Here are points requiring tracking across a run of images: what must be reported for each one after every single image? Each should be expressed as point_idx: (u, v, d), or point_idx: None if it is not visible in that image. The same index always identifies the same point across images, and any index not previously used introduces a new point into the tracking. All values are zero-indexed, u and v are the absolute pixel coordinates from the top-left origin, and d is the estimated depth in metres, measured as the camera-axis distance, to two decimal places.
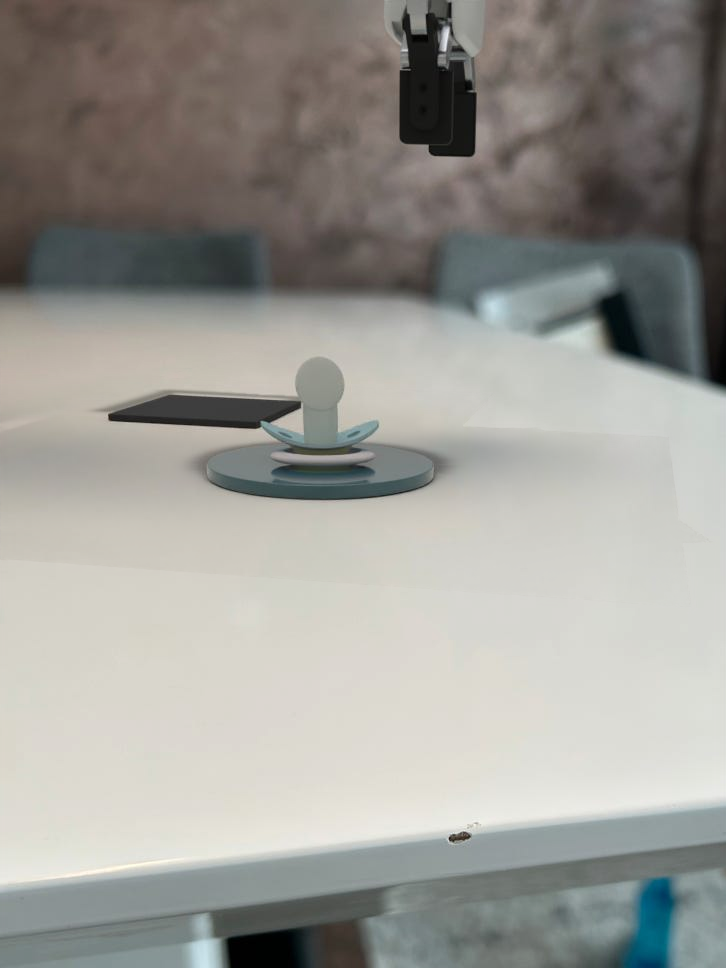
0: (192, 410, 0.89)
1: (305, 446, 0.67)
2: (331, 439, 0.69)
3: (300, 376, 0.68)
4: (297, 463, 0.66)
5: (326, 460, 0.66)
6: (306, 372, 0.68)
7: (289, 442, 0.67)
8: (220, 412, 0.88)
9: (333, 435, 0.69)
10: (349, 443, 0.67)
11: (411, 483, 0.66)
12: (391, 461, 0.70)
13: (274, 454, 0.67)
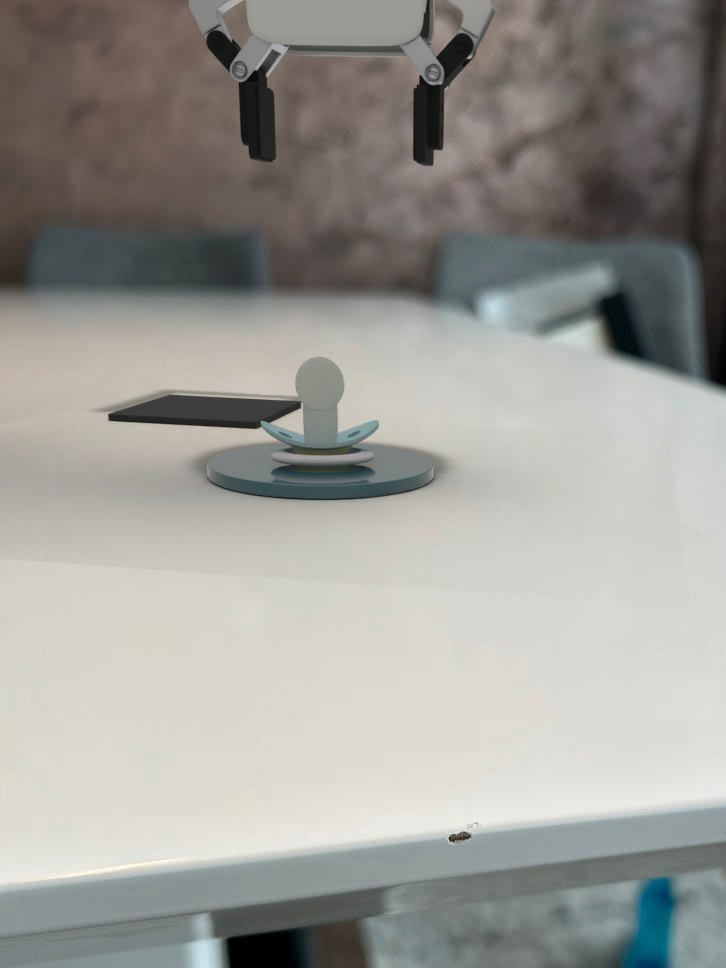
0: (192, 410, 0.89)
1: (305, 446, 0.67)
2: (331, 439, 0.69)
3: (300, 376, 0.68)
4: (297, 463, 0.66)
5: (326, 460, 0.66)
6: (306, 372, 0.68)
7: (289, 442, 0.67)
8: (220, 412, 0.88)
9: (333, 435, 0.69)
10: (349, 443, 0.67)
11: (411, 483, 0.66)
12: (391, 461, 0.70)
13: (274, 454, 0.67)
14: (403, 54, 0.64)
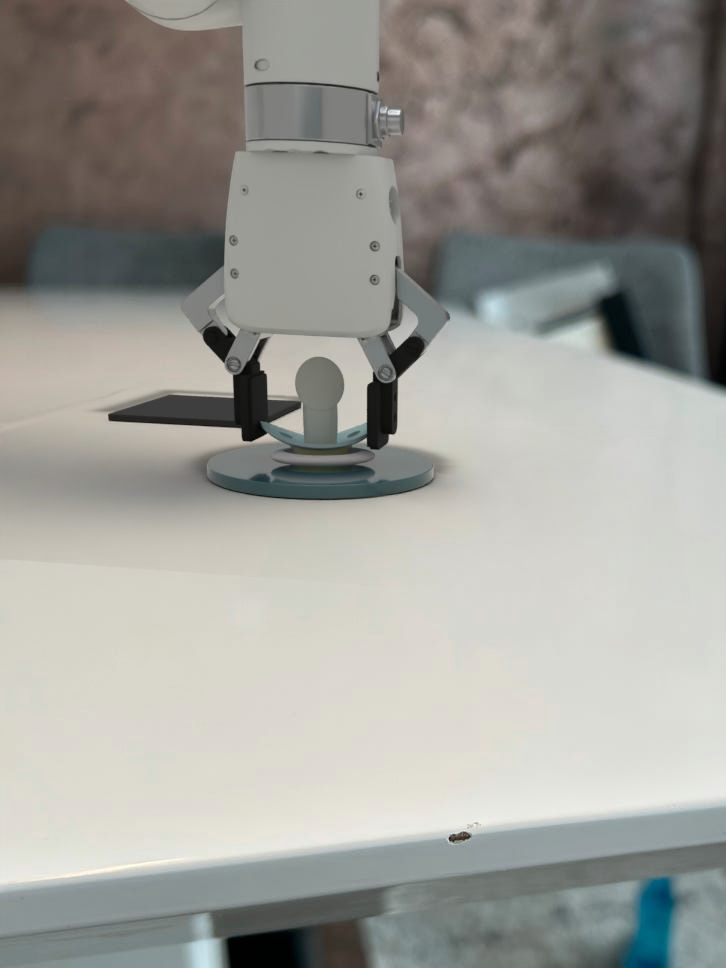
0: (192, 410, 0.89)
1: (305, 446, 0.67)
2: (331, 439, 0.69)
3: (300, 376, 0.68)
4: (297, 463, 0.66)
5: (326, 460, 0.66)
6: (306, 372, 0.68)
7: (289, 442, 0.67)
8: (220, 412, 0.88)
9: (333, 435, 0.69)
10: (349, 443, 0.67)
11: (411, 483, 0.66)
12: (391, 461, 0.70)
13: (274, 454, 0.67)
14: None
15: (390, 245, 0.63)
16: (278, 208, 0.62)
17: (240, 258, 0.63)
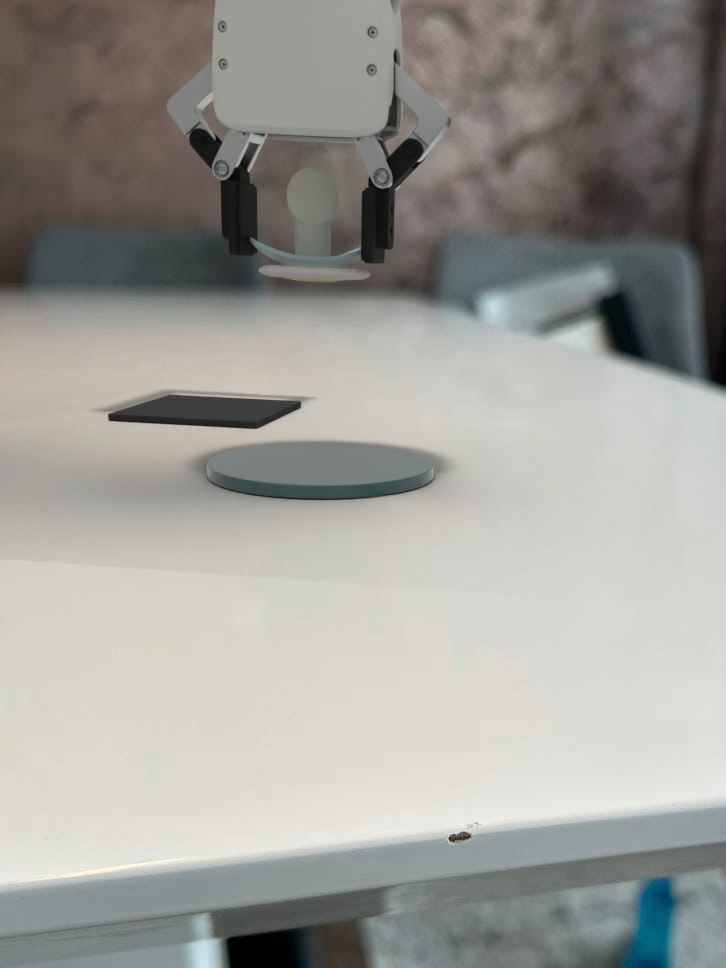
0: (192, 410, 0.89)
1: (296, 258, 0.63)
2: None
3: (292, 187, 0.64)
4: (287, 274, 0.62)
5: (318, 271, 0.62)
6: (298, 183, 0.64)
7: (279, 254, 0.63)
8: (220, 412, 0.88)
9: (326, 254, 0.66)
10: (342, 257, 0.64)
11: (411, 483, 0.66)
12: (391, 461, 0.70)
13: (263, 267, 0.63)
14: None
15: (389, 33, 0.59)
16: None
17: (229, 46, 0.60)
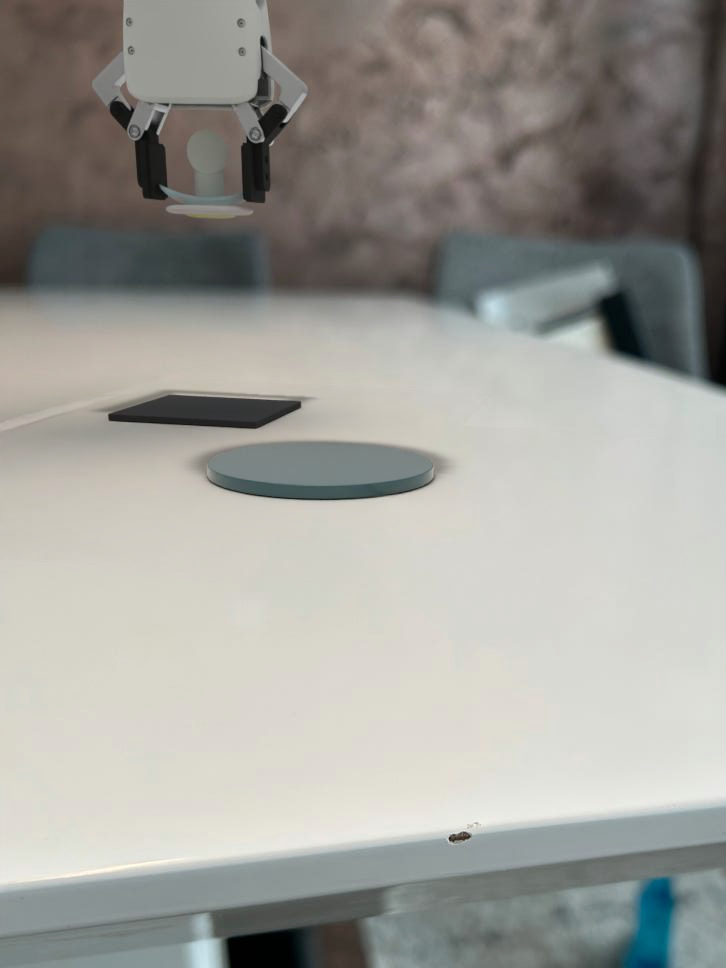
0: (192, 410, 0.89)
1: (193, 199, 0.82)
2: None
3: (190, 145, 0.83)
4: (186, 210, 0.81)
5: (209, 208, 0.81)
6: (195, 141, 0.83)
7: (180, 195, 0.82)
8: (220, 412, 0.88)
9: (220, 197, 0.84)
10: (230, 198, 0.83)
11: (411, 483, 0.66)
12: (391, 461, 0.70)
13: (168, 206, 0.82)
14: None
15: (254, 24, 0.78)
16: None
17: (135, 37, 0.79)
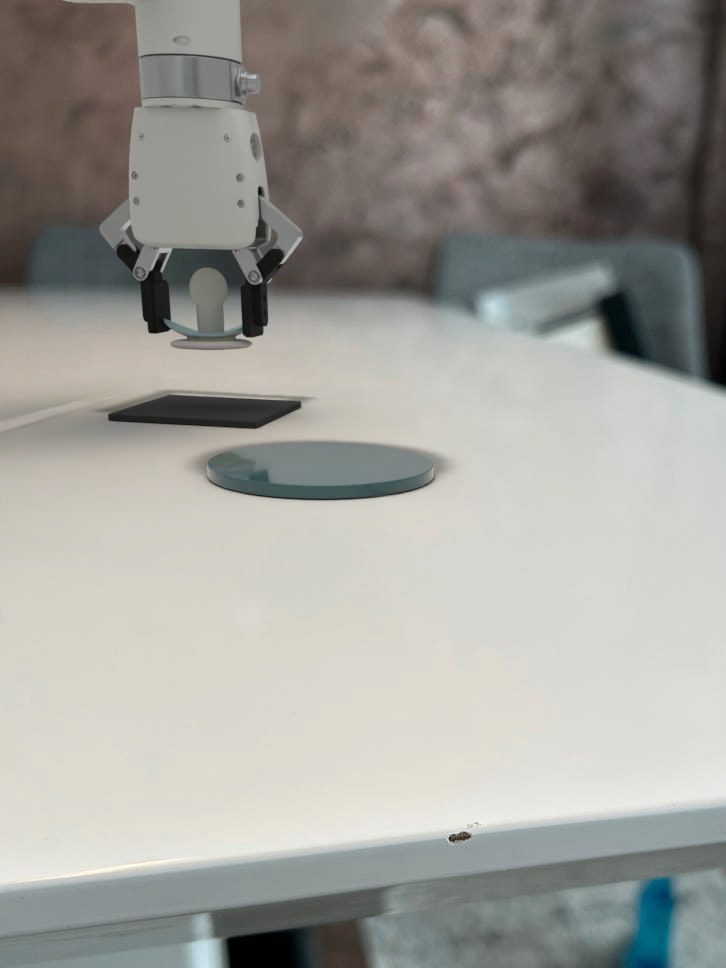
0: (192, 410, 0.89)
1: (196, 335, 0.87)
2: (219, 332, 0.90)
3: (193, 282, 0.88)
4: (189, 347, 0.87)
5: (211, 344, 0.87)
6: (197, 279, 0.88)
7: (183, 332, 0.87)
8: (220, 412, 0.88)
9: (220, 329, 0.90)
10: (230, 333, 0.88)
11: (411, 483, 0.66)
12: (391, 461, 0.70)
13: (172, 342, 0.87)
14: None
15: (252, 177, 0.83)
16: (166, 150, 0.82)
17: (140, 189, 0.84)
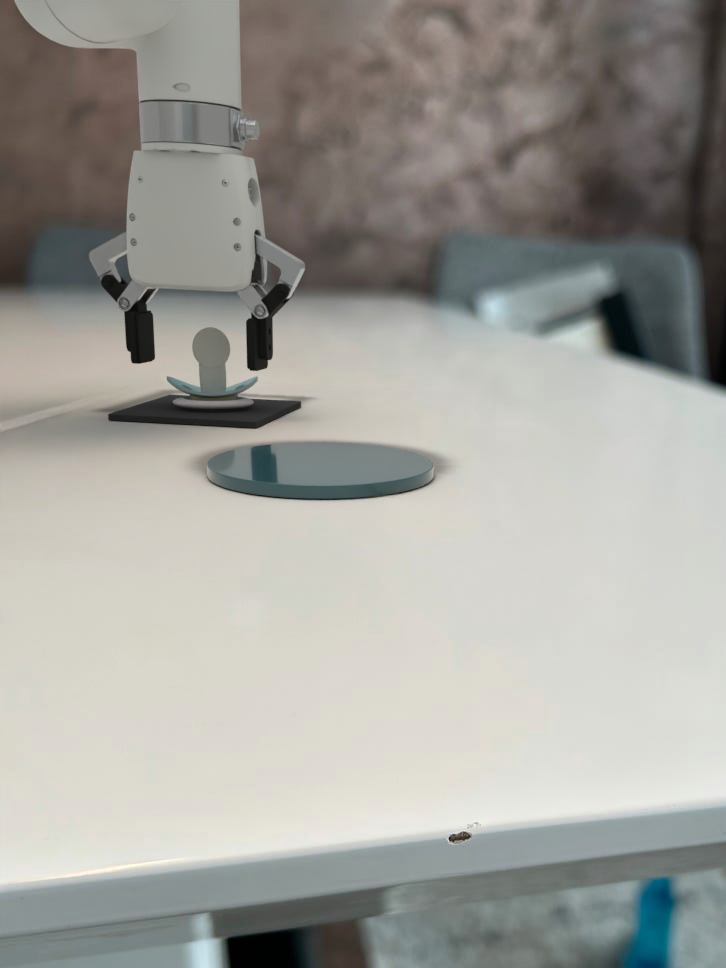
0: (192, 410, 0.89)
1: (198, 394, 0.89)
2: (221, 390, 0.91)
3: (196, 342, 0.90)
4: (191, 406, 0.88)
5: (213, 404, 0.88)
6: (200, 339, 0.90)
7: (186, 391, 0.89)
8: (220, 412, 0.88)
9: (222, 387, 0.91)
10: (232, 392, 0.89)
11: (411, 483, 0.66)
12: (391, 461, 0.70)
13: (175, 400, 0.89)
14: None
15: (249, 221, 0.84)
16: (164, 193, 0.83)
17: (137, 230, 0.84)
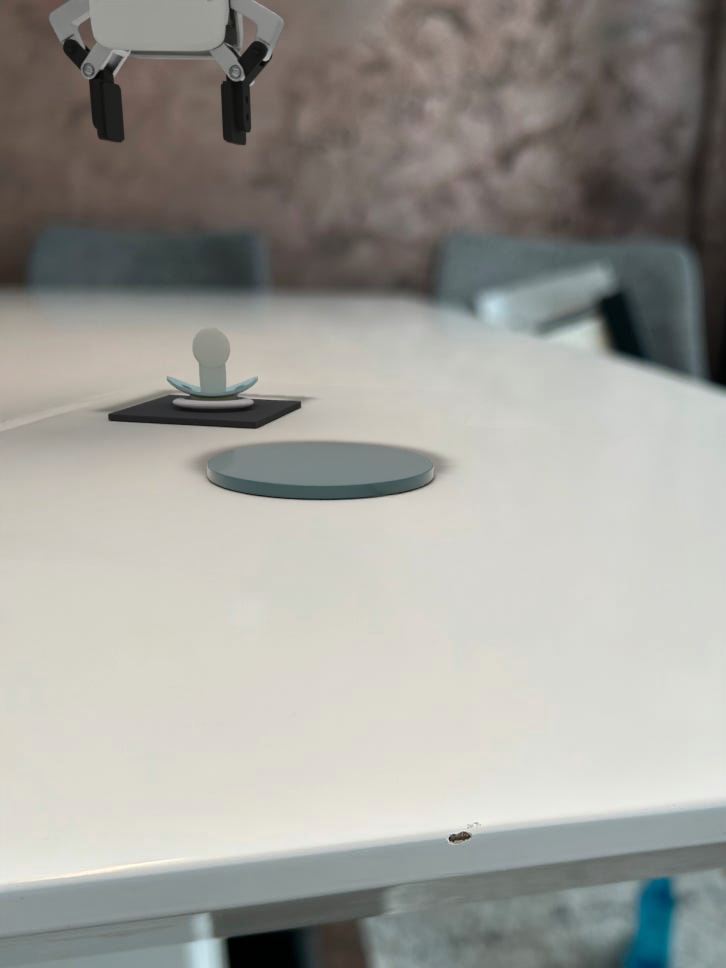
0: (192, 410, 0.89)
1: (198, 394, 0.89)
2: (221, 390, 0.91)
3: (196, 342, 0.90)
4: (191, 406, 0.88)
5: (213, 404, 0.88)
6: (200, 339, 0.90)
7: (186, 391, 0.89)
8: (220, 412, 0.88)
9: (222, 387, 0.91)
10: (232, 392, 0.89)
11: (411, 483, 0.66)
12: (391, 461, 0.70)
13: (175, 400, 0.89)
14: None
15: None
16: None
17: None
